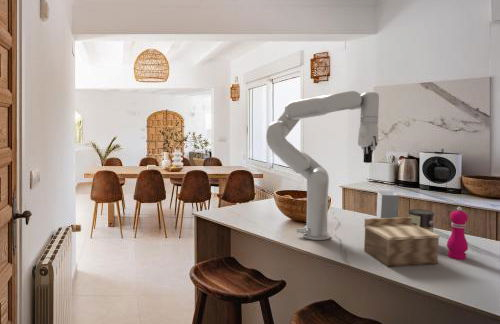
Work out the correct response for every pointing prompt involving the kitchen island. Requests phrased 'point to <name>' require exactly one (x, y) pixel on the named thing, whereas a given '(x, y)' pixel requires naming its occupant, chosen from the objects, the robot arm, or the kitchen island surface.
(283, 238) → the kitchen island surface
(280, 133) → the robot arm
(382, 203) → the hard drive box
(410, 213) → the coffee can
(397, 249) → the walnut box
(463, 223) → the pepper mill
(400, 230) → the box lid
